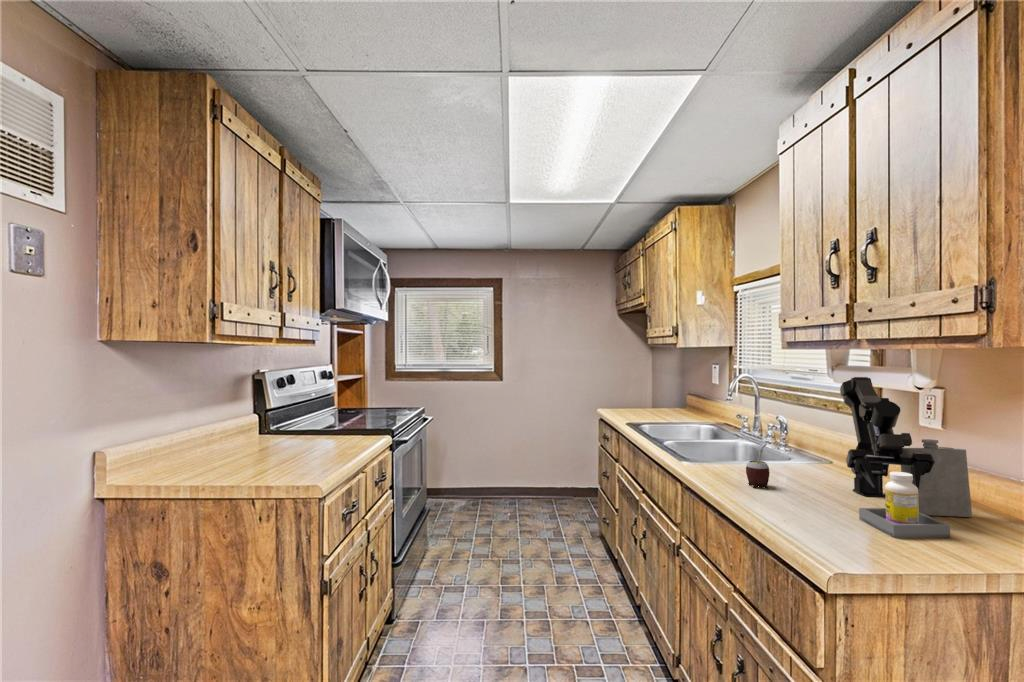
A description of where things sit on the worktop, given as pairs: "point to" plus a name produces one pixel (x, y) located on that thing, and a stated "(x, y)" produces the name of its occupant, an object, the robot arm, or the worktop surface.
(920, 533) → the tray
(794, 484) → the worktop surface
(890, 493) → the supplement bottle
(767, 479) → the mate gourd
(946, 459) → the hip flask
